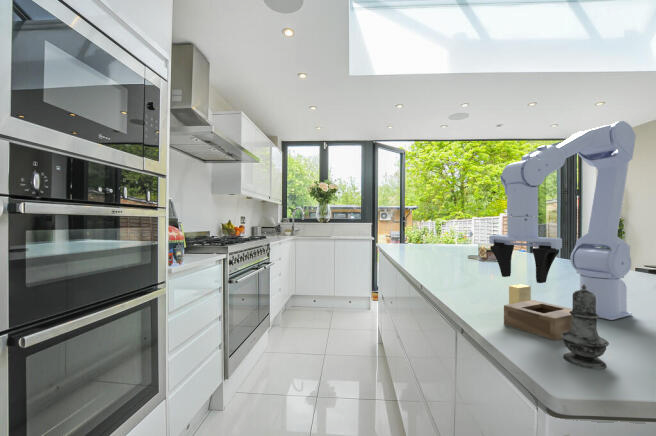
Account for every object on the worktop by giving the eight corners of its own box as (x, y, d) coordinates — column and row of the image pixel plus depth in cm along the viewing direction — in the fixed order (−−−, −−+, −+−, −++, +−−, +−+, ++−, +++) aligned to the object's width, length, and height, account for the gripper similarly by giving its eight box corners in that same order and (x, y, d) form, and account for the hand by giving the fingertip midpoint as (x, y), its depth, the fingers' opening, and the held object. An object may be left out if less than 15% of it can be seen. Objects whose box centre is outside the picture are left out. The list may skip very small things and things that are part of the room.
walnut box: (533, 317, 72) (533, 300, 72) (584, 331, 63) (584, 311, 63) (503, 324, 67) (503, 305, 67) (554, 340, 58) (554, 318, 58)
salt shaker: (618, 371, 46) (618, 289, 47) (573, 367, 48) (573, 287, 48) (594, 354, 52) (593, 281, 52) (553, 351, 53) (553, 280, 53)
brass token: (520, 308, 80) (520, 284, 80) (530, 310, 77) (530, 286, 77) (508, 310, 78) (508, 285, 78) (518, 313, 76) (518, 287, 76)
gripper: (480, 216, 74) (480, 275, 74) (547, 216, 61) (547, 287, 61) (500, 216, 77) (500, 273, 77) (567, 216, 64) (568, 284, 64)
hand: (522, 279), depth 69 cm, fingers open, 7 cm apart
